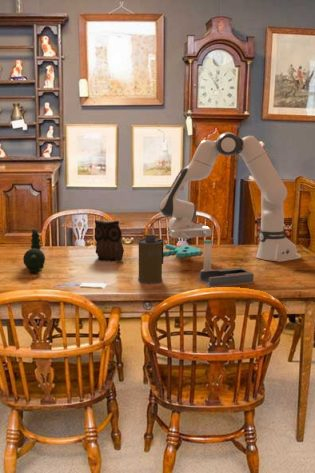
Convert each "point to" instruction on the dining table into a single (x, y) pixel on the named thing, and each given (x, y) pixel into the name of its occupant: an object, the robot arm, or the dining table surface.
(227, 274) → the keyhole track
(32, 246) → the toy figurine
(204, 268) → the flanged post
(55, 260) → the dining table surface
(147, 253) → the canister
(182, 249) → the alien figure
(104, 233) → the owl
